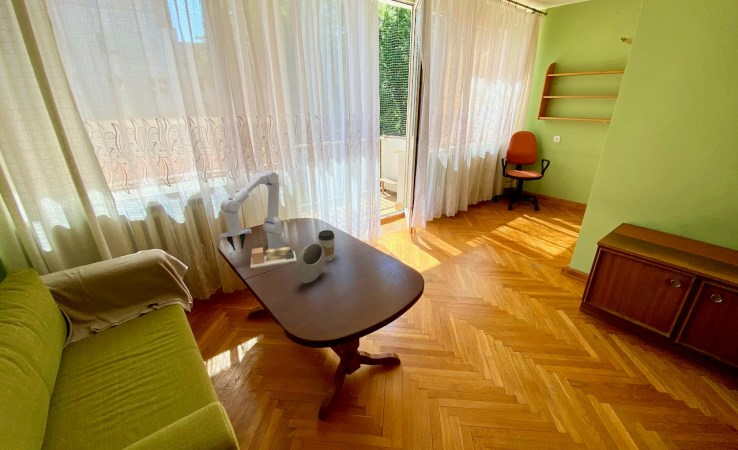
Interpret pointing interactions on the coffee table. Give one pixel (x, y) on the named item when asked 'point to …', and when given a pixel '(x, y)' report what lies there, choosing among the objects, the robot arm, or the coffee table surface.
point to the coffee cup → (327, 243)
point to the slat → (277, 253)
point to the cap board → (288, 259)
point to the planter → (310, 263)
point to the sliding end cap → (258, 255)
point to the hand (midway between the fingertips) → (238, 248)
